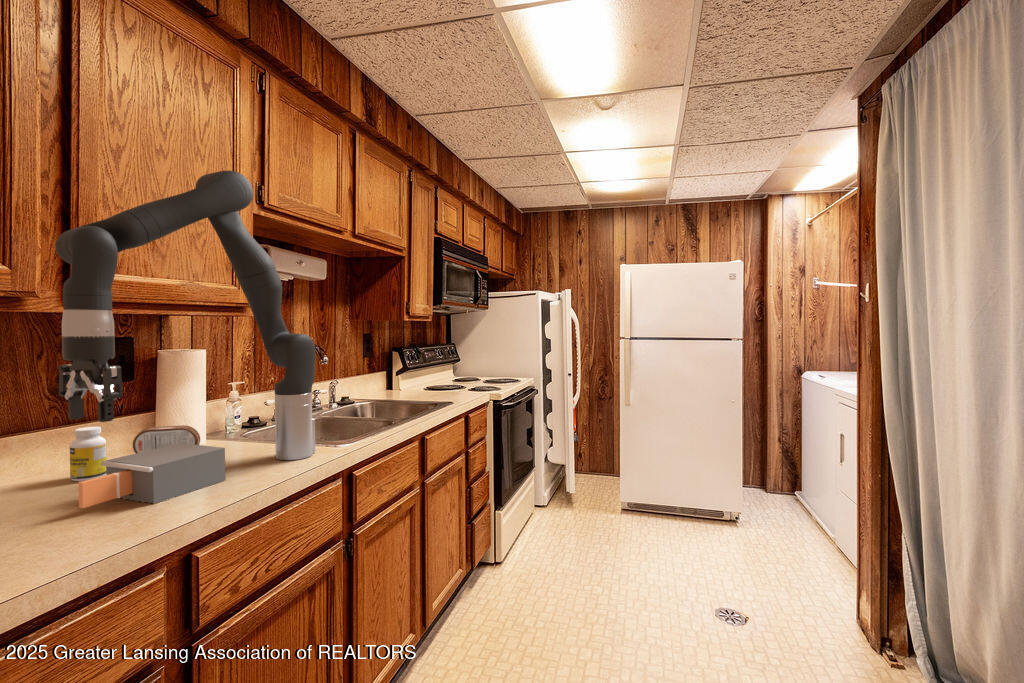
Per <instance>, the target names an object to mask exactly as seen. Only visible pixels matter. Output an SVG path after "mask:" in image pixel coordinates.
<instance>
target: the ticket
mask: <svg viewBox="0 0 1024 683" xmlns="http://www.w3.org/2000/svg"><path fill="white" fill-rule="evenodd" d="M77 483H78V484H77V486H78V487H77V488H78V490H77V492H78V508H80V509H85V508H89V507H92V506H95V505H99V504H102V503H104V502H108V501H111V500H115V499H120V498H119V497H122V496H125V495H129V494H132V493H133V470H125V471H121V472H117V473H113V474H109V475H105V476H102V477H98V478H94V479H90V480H86V481H77Z"/></svg>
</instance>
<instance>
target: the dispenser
mask: <svg viewBox="0 0 1024 683" xmlns="http://www.w3.org/2000/svg"><path fill="white" fill-rule="evenodd" d="M101 466H106V475H109V474H113V473H117V472H121V471H125V470H133V493H132V494H129V495H125V496H122V497H120V498H125V499H124V500H126V499H131V500H130V501H132V500H136V501H135V502H138V501H143V502H142V503H144V502H148V503H147V504H150V503H156V504H158V502H159V503H161V501H162V502H165V501H168V500H171V499H174V498H176V497H175V496H177V497H180V496H183V495H185V493H186V494H189V493H192V492H194V491H193V490H195V491H197V490H196V489H198V490H201V489H204V488H207V487H210V486H213V485H216V484H219V483H222V482H225V481H226V448H225V447H220V446H210V445H203V444H202V445H200V444H199V445H193V444H184V443H180V444H175V445H171V446H167V447H162V448H158V449H154V450H149V451H145V452H140V453H133V454H128V455H124V456H120V457H114V458H111V459H110V458H109V459H107V460H106V461H102V462H101ZM106 475H105V476H106ZM224 480H225V481H224ZM221 481H222V482H221ZM218 482H219V483H218ZM215 483H216V484H215ZM212 484H213V485H212ZM203 487H204V488H203ZM200 488H201V489H200ZM191 491H192V492H191ZM188 492H189V493H188ZM182 494H183V495H182ZM179 495H180V496H179ZM173 497H174V498H173ZM120 498H119V499H120ZM170 498H171V499H170ZM167 499H168V500H167ZM164 500H165V501H164Z"/></svg>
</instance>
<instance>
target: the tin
mask: <svg viewBox="0 0 1024 683" xmlns="http://www.w3.org/2000/svg"><path fill="white" fill-rule="evenodd" d="M180 443H184V444H193V445H200V443H201V436H200V432H198V430H197V429H195V428H194V427H193V426H189V425H184V424H183V425H182V424H181V425H165V426H149V427H147V428H143V429H142V430H141V431H139V432H138V434H136V436H135V437H134V438H133V440H132V449H133V452H134V454H136V453H140V452H145V451H149V450H154V449H158V448H162V447H167V446H171V445H175V444H180Z"/></svg>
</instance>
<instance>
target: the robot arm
mask: <svg viewBox="0 0 1024 683" xmlns="http://www.w3.org/2000/svg"><path fill="white" fill-rule="evenodd" d="M253 197H254V189H253V185H252V183H251V182H250V181H249V179H248V177H246V176H245V175H244V174H241V173H240V172H237V171H233V170H220V171H219V170H218V171H215V172H212V173H211V172H210V173H207V174H203V175H202V176H200V177H198V179H197V180H196V183H195V188H193V189H190V190H188V191H185V192H182V193H179V194H176V195H172V196H167V197H164V198H159V199H156V200H153V201H148V202H146V203H143V204H139V205H137V206H135V207H132V208H128V209H126V210H123V211H120V212H118V213H116V214H114V215H112V216H110V217H107V218H105V219H101V220H97V221H94V222H90V223H87V224H84V225H80V226H78V227H74V228H71V229H68V230H65V231H63V233H61V234H60V235H59V236H57V239H56V241H55V245H54V246H55V252H56V254H57V256H58V257H59V258H60V260H61V259H62V260H63V261H64V262H65V263H67V264H69V265H71V266H70V276H69V277H68V278H67V279H66V280H65V281H64V283H63V285H62V286H63V288H62V305H63V306H62V308H63V310H62V318H61V319H62V320H61V347H62V348H61V352H62V359H63V360H64V361H71V363H69V364H60V365H59V367H58V369H59V370H58V395H59V396H60V397H64V399H65V400H66V401H67V405H68V406H67V407H68V408H67V409H68V419H69V420H72V421H73V420H80V419H83V418H84V417H85V400H84V396H85V394H86V393H87V391H89V392H90V393H92V394H94V396H95V397H96V399H97V420H98V422H100V423H107V422H112V421H113V420H114V418H115V416H114V415H115V414H114V412H115V410H114V408H115V407H114V405H115V404H114V402H115V401H116V400H117V399H119V398H122V397H123V394H124V393H123V392H124V391H123V380H122V379H123V378H122V367H121V366H120V365H109V363H108V361H109V360H113V359H114V358H115V357H116V341H115V335H116V334H115V320H114V319H115V318H114V315H113V294H112V292H113V291H112V286H113V283H114V279H115V275H116V270H117V267H118V266H117V264H118V259H119V253H120V252H123V251H125V250H130V249H134V248H138V247H139V248H140V247H142V246H144V245H147V244H149V243H151V242H154V241H156V240H159V239H162V238H164V237H165V236H168V235H170V234H173V233H174V232H177V231H179V230H181V229H183V228H186V227H187V226H190V225H192V224H195V223H197V222H199V221H202V220H204V219H208V220H209V223H210V224H211V226H212V228H213V230H214V232H215V233H216V235H217V237H218V239H219V240H220V243H221V245H222V247H223V250H224V251H225V254H226V256H227V258H228V260H229V262H230V264H231V267H232V270H233V272H234V275H235V277H236V279H237V281H238V284H239V286H240V288H241V290H242V293H243V294H244V296H245V299H246V300H247V302H248V305H249V307H250V310H251V312H252V313H251V314H252V315H253V317H254V319H255V322H256V324H257V326H258V329H259V333H260V336H261V340H262V341H263V345H264V348H265V352H266V355H267V357H268V358H269V360H270V362H271V363H273V365H274V366H277V367H281V368H285V374H284V377H283V378H282V379H281V380H279V381H278V382H276V383H275V384H274V427H275V428H274V429H275V430H274V433H275V435H274V436H275V437H274V438H275V442H274V444H275V459H276V460H280V461H296V460H301V459H305V458H306V459H307V458H309V457H312V456H313V455H312V454H315V453H316V421H315V418H313V397H312V396H313V394H312V393H313V385H314V382H315V379H316V357H317V356H316V354H317V353H316V346H315V343H314V341H313V340H314V339H312V337H310V336H309V335H307V334H305V333H290V331H289V329H288V328H287V325H286V323H285V321H284V318H283V315H282V299H283V284H282V280H281V278H280V275H279V273H278V270H277V267H276V266H275V263H274V260H272V258H271V257H270V255H269V254H268V252H266V250H265V249H264V248H263V247H262V245H260V243H258V242H257V240H256V239H255V238H254V237H253V236H252V235H251V234H250V232H249V231H248V230H247V228H246V226H245V224H244V222H243V220H242V217H241V214H240V212H239V211H242V210H244V209H246V208H247V207H249V206H250V204H252V201H253ZM114 388H115V391H114ZM314 452H315V453H314Z"/></svg>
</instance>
